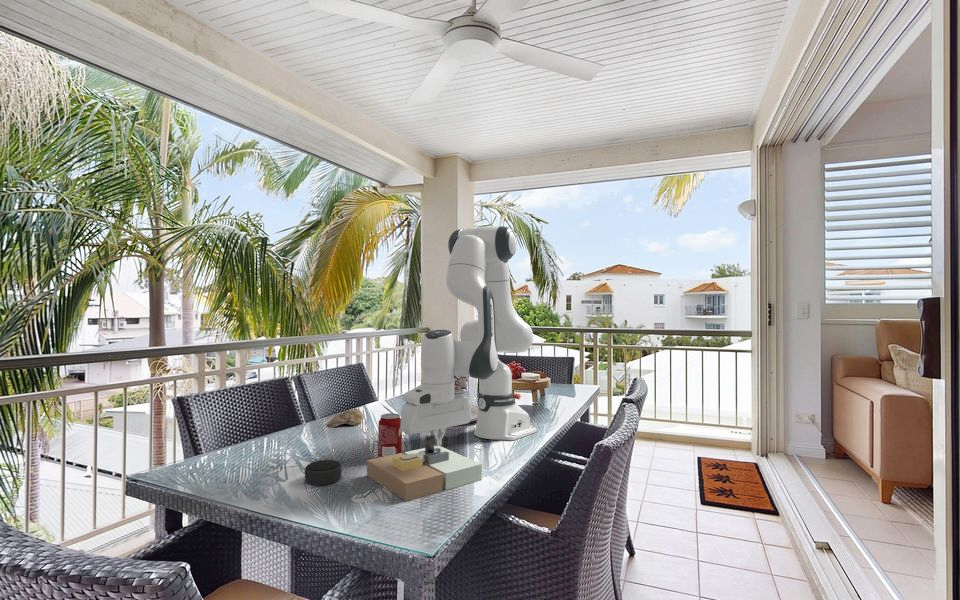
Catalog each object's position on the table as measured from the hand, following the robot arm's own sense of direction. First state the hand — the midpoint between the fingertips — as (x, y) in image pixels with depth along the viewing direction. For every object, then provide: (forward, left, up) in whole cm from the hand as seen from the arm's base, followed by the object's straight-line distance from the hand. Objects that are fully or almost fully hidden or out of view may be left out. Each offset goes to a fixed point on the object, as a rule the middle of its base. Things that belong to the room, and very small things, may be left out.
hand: (437, 445), depth 128 cm
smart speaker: (+25, -14, -8) cm, 30 cm away
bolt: (+5, 0, -3) cm, 6 cm away
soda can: (+3, -20, -8) cm, 22 cm away
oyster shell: (-2, -63, -8) cm, 63 cm away
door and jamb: (+5, 0, -8) cm, 9 cm away
